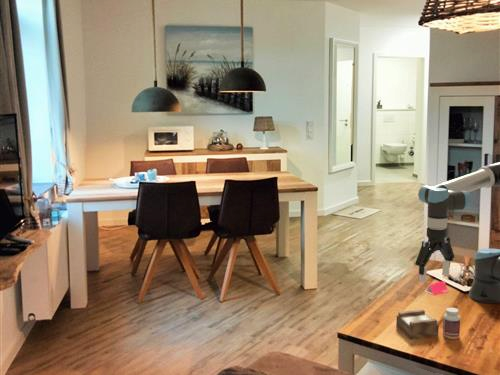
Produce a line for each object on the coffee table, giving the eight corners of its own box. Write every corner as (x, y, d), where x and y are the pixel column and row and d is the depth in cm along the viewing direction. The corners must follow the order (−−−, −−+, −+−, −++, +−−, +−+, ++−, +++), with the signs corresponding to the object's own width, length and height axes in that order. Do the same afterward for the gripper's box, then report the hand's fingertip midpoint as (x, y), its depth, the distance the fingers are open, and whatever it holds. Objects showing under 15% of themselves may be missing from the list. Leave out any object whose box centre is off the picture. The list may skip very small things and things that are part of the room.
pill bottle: (462, 338, 212) (464, 312, 210) (448, 340, 211) (450, 313, 209) (453, 331, 218) (454, 306, 216) (439, 333, 217) (440, 307, 215)
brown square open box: (422, 323, 226) (423, 309, 225) (438, 336, 214) (438, 320, 213) (396, 326, 224) (396, 311, 222) (410, 339, 212) (410, 323, 211)
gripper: (449, 221, 222) (447, 270, 226) (407, 229, 209) (405, 282, 213) (465, 225, 216) (462, 275, 219) (422, 234, 203) (420, 287, 207)
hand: (434, 278), depth 216 cm, fingers open, 13 cm apart
